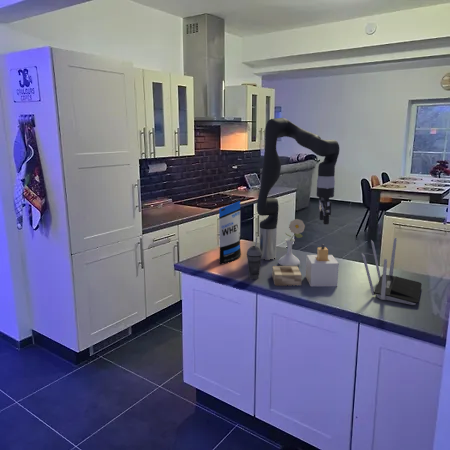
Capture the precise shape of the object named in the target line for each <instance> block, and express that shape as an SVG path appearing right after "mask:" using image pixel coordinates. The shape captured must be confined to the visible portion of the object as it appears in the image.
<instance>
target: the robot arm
mask: <svg viewBox="0 0 450 450" xmlns="http://www.w3.org/2000/svg"><path fill="white" fill-rule="evenodd" d="M264 131H265V132H264V153H263V154H264V155H263V162H262V169H261V181H260V187H259V192H258V196H257V201H256V212H257V214H258V215H259V216H265V217H266V216H267V217H266V218H265V219H263V220H261V221H260V222H259V246H258V247H259V248H260V250H261V253H262V256H261V260H263V259H265V261H271V260H270V259H273V260H275V259H277V234H278V233H277V229H278V227H277V226H278V222H279V221H278V220H279V219H278V218H279V201H278V199H277V198H276V197H268V196H269V193H270V191H271V189H272V188H273V187H274V185H275V184H276V183H277V181H278V180H279V178H280V175H281V171H282V161H281V158H280V156H279V154H278V150H277V144H278V143H277V142H278V139H280V138H284V137H285V138H286V137H287V138H291V139H294V140H295V141H296V143H297V144H298V145H299V146H301V147H304V148H305V149H308V150H310V151H311V152H312V153H313V154H315V155H316V156H319V157H323V158H324V159H323V161H322V162H320V163H318V167H317V179H316V197H317V198H318V208H317V209H318V212H319V217H318V219H319V220H320V221H323V225H329V224H330V216H331V215H332V201H330V198H334V197H335V185H336V183H335V182H336V181H335V180H336V179H335V178H336V177H335V175H336V174H335V169H336V168H335V167H336V165H337V161H338V158H339V154H340V143H339V142H338V141H337V140H336V139H322V138H321V137H320V135H317V134H316V133H313V132H312V131H311V132H310V131H308V130H306V129H304V128H301V127H299V126H298V125H296V124H295V123H294V122H292V121H290V120H289V119H287V118H285V117H277V118H271V119H268V120H267V122H266V125H265V129H264ZM274 258H275V259H274Z"/></svg>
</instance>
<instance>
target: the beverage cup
mask: <svg viewBox="0 0 450 450" xmlns="http://www.w3.org/2000/svg"><path fill="white" fill-rule="evenodd" d="M257 242H258V237H256V238H255V243H254V245H252V246H250V247H249V248H248V249H247V252H246V258H247V267H248V277H249V279H251V280H257V279H259V278H260V277H259V276H260V269H261V268H260V267H261V260H262V259H261V256H262V253H261V250H260V248H259V246H257Z"/></svg>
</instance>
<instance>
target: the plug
mask: <svg viewBox="0 0 450 450" xmlns="http://www.w3.org/2000/svg"><path fill="white" fill-rule="evenodd" d="M316 252H317V253H316V255H317V261H328V255H329V249H328V248H327V247H326V245H325V244H324V243H321V246H320V247H317V250H316Z"/></svg>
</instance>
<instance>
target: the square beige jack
mask: <svg viewBox="0 0 450 450" xmlns="http://www.w3.org/2000/svg"><path fill="white" fill-rule="evenodd" d="M271 274H272V280H273V284H274V286H278V287H280V286H281V287H282V286H283V287H284V286H285V287H286V286H287V285H288V286H292V285H293V287H294V286H295V285H297V286H298V285H301V286H302V282H303V281H302V272H301V271H300V269H299V265H298V266H282V265H272V273H271Z"/></svg>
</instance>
